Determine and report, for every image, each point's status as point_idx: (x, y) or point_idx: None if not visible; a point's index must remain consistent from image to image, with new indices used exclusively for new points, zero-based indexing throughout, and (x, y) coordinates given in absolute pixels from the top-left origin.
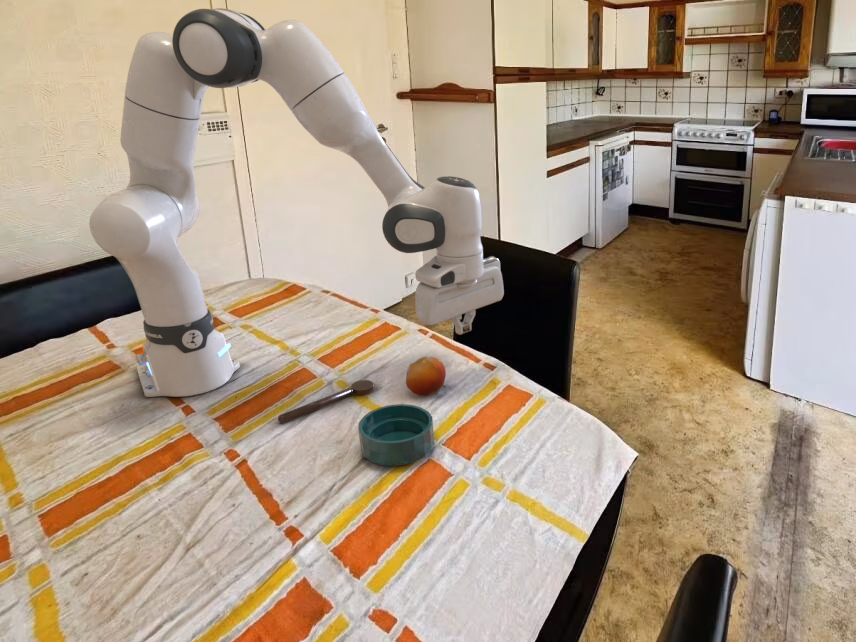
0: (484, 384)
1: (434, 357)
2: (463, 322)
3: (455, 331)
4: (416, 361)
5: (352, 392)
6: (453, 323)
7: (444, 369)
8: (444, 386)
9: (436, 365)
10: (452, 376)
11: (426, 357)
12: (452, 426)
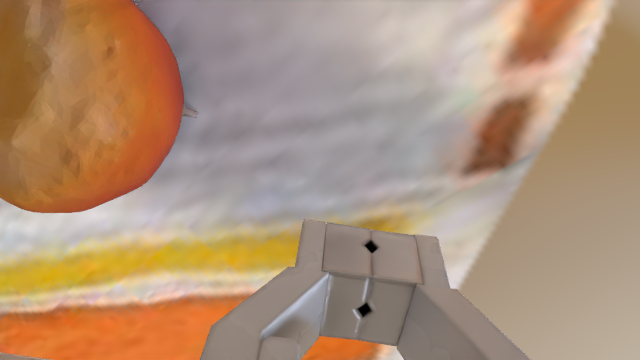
0: (333, 217)
1: (89, 145)
2: (395, 297)
3: (303, 222)
4: (4, 26)
5: None
6: (275, 277)
7: (134, 189)
8: (187, 114)
9: (53, 209)
10: (298, 61)
11: (26, 124)
12: (52, 290)
